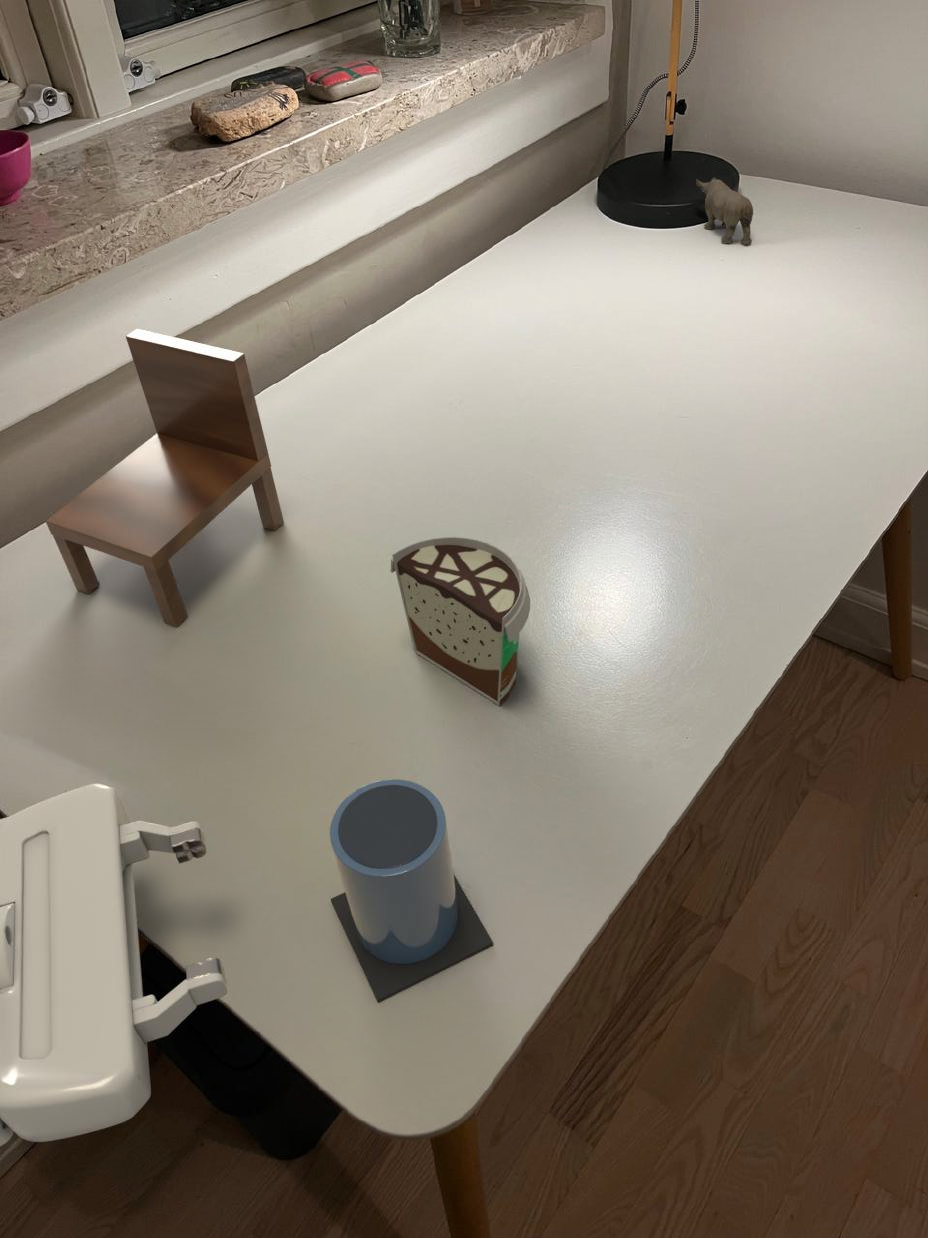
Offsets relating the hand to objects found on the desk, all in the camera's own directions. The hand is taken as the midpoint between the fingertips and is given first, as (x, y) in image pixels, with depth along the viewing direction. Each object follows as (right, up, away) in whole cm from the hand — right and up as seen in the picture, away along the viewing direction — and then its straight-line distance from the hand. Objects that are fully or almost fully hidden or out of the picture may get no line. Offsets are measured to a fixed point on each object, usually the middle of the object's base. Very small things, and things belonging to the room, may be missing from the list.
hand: (213, 902), depth 59 cm
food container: (+16, +13, +25) cm, 32 cm away
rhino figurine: (+49, +69, +81) cm, 117 cm away
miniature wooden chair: (-12, +22, +37) cm, 45 cm away
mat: (+11, -3, +8) cm, 14 cm away
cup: (+11, -3, +8) cm, 14 cm away
